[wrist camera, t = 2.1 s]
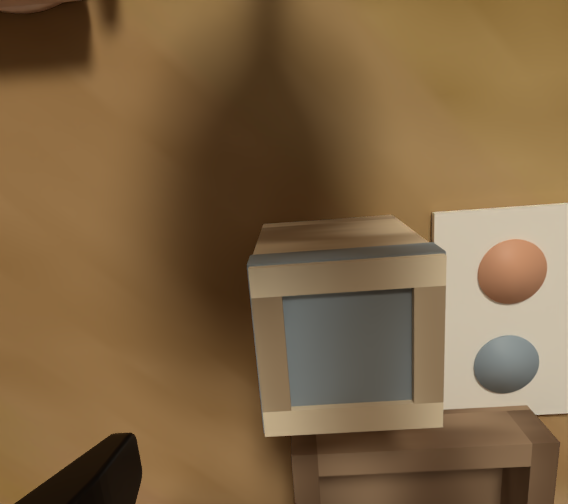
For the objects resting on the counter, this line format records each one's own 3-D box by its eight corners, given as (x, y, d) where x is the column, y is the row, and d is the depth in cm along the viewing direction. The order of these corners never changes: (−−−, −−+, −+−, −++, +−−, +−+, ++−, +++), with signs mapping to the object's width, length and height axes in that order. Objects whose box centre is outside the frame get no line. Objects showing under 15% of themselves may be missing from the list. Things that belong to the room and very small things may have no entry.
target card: (429, 415, 19) (432, 421, 18) (431, 212, 16) (435, 214, 16) (569, 408, 18) (575, 414, 18) (592, 200, 16) (599, 202, 16)
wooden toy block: (272, 341, 18) (263, 438, 12) (261, 222, 17) (245, 266, 11) (394, 334, 18) (444, 429, 12) (393, 213, 16) (448, 253, 11)
